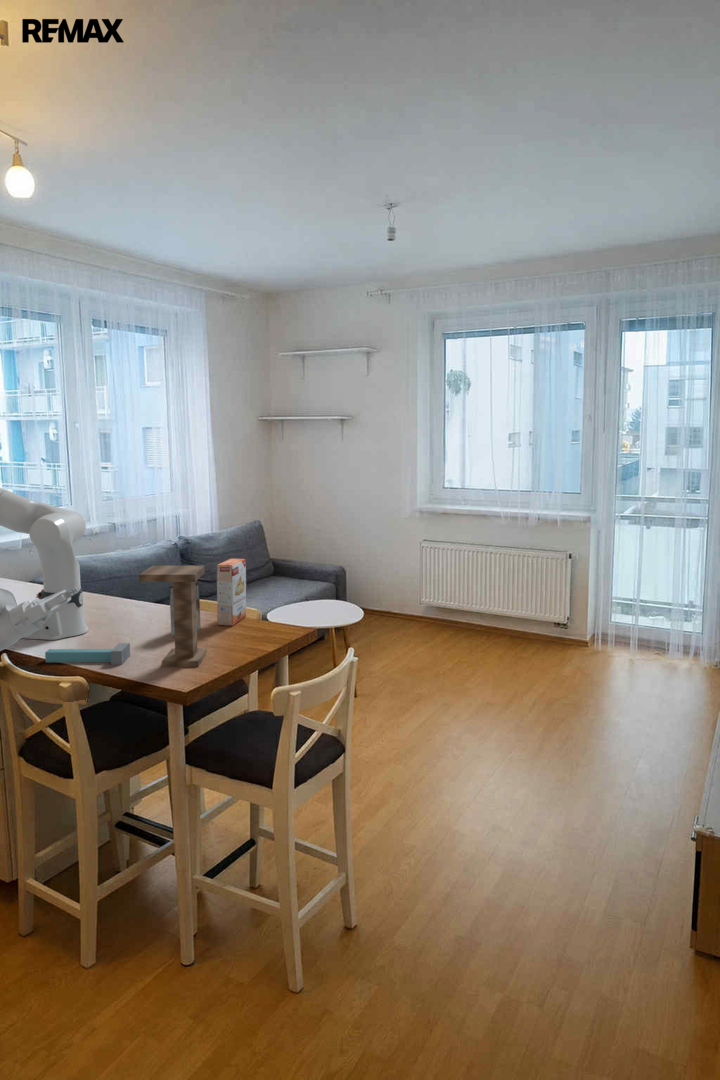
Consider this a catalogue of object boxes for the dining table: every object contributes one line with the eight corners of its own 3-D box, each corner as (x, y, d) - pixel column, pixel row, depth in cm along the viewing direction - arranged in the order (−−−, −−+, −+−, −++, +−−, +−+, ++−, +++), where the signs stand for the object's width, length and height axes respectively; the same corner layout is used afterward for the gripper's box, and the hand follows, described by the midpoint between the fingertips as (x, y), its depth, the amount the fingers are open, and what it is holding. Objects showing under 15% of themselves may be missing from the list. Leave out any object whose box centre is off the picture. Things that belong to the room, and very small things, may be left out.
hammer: (42, 665, 202) (41, 651, 201) (53, 656, 210) (52, 643, 209) (122, 665, 203) (121, 651, 202) (130, 656, 210) (129, 643, 210)
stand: (142, 667, 200) (139, 574, 196) (155, 652, 213) (152, 565, 210) (197, 667, 200) (195, 574, 196) (207, 652, 214) (204, 565, 210)
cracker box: (234, 626, 243) (232, 565, 240) (216, 625, 244) (215, 564, 241) (247, 616, 257) (246, 558, 254) (231, 615, 258) (230, 557, 255)
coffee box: (183, 628, 241) (181, 580, 239) (201, 629, 240) (199, 581, 238) (170, 635, 233) (168, 585, 230) (189, 636, 231) (187, 586, 229)
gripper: (5, 617, 193) (49, 591, 193) (37, 599, 213) (77, 576, 213) (18, 636, 194) (62, 611, 193) (49, 617, 214) (89, 594, 214)
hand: (70, 593), depth 203 cm, fingers open, 8 cm apart
